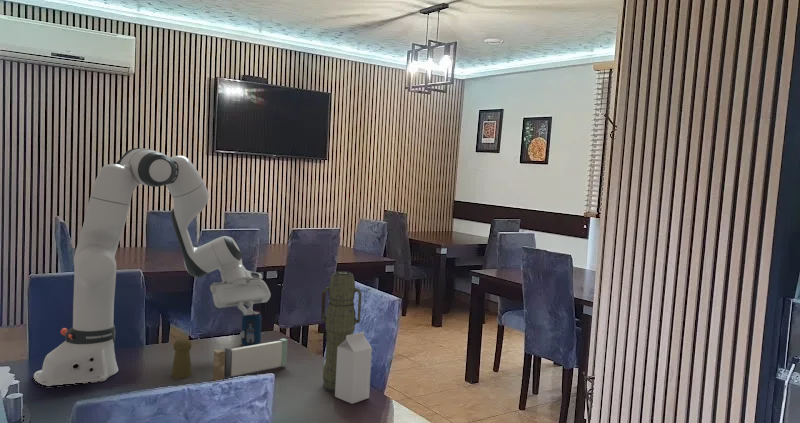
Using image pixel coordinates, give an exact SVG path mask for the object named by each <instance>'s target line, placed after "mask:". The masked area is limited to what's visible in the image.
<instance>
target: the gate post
mask: <svg viewBox="0 0 800 423" xmlns="http://www.w3.org/2000/svg"><path fill="white" fill-rule="evenodd" d="M224 367H225V349H224V350H223V349H214V350H213V370H212V380H213V381H215V382H216V380H221V379H224V380H225V377H224Z"/></svg>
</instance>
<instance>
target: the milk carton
mask: <svg viewBox="0 0 800 423" xmlns="http://www.w3.org/2000/svg"><path fill="white" fill-rule="evenodd" d="M372 352H373V348H372V346H371V344H370V343H369V341H368V340H367V338H366V336H365V331H361V332H357V333H356V332H355V333H353V334H351V335H347V336H346V340H345V341H344V342H342V343H341V344H340V345H339V346H338V347H337V365H336V385H335V391H334V397H335V398H337V399H339V400H342V401H344V402H346V403H349V404H351V405H353V404H355V403H358V402H361V401H365V400H367V399H369V398H370V388H371V370H372V369H371V367H372Z"/></svg>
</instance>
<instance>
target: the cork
mask: <svg viewBox="0 0 800 423" xmlns="http://www.w3.org/2000/svg"><path fill="white" fill-rule="evenodd" d="M192 345H193V344H192V342H191V340H190V339H186V338H180V339H176V340H175V341H174V342H173V350H174V351H175V352H174V357H173V364H172V370H171V373H170V374H171V375H170V377H172V378H174V379H187V378H190V377H192V375H193V371H192V370H193V369H192V363H191V355H190V354H191V353H190V350H191V349H192Z"/></svg>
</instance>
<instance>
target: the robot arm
mask: <svg viewBox="0 0 800 423" xmlns="http://www.w3.org/2000/svg"><path fill="white" fill-rule="evenodd" d="M139 185H143V186H149V187H152V188H153V187H154V188H157V187H158V188H159V187H163V186H166V188H167V190H168V192H169V193H170V195H171V198H172V201H173V208H172V210H170V218H171V219H170V220H171V223H172V226H173V230H174V233H175V236H176V239H177V243H178V245H179V247H180V251H181V253H182V254H181V255H182V258H183V264H184V267H185V270H186V271H187V272H188V274H189V275H190V276H191V277H193V278H194V277H195V278H203V277H205V276H206V275H208V274H211V272H214V271H216V270H218V271H219V272H220V277H221V278H220V279H221V281H220V282H212V284H210V285H209V289H210V292H211V294H212V300H213V304H214V306H215V307H216V308H218V309H222V308H229V307H230V308H231V307H237V309H238V310H239V311H241V312H242V314H244V315H252V314H253V311H254V309H253V307H254V306H253V305H254V304H262V303H263V304H265V303H267V302H268V301H269V300H270V298H271V295H272V294H271V291H270V288H269V287H268V285H267V283H266V282H265V281H264V280H263V275H262V273H259V272H256V271H255V272H254V271H251V270H248V269H246V267H245V266H244V265H243V259H242V257H243V256H242V255H243V254H242V252H241V248H240V246H239V244H238V242H237V241H236V239H235V238H233V237H231V236H229V235H228V236H227V235H223V236H220V237H217V238H215V239H212V240H211V241H208V242H206V243H205V244H203V245H202V244H201V245H199V246H197V247H196V246H194V245H193V242H192V239H191V234H190V232H189V229H188V227H189V225H190V224H191V222H192V221H193V220H194V219H195V218H196V217H197V216H198V215H199V214H200V213H202V211H203V210H204V209H205V207H206V206H207V204H208V201H209V198H210V194H209V191H208V188H207V186H206V184H205V181H204V179H203V178H202V176H201V174H200V172H199V171H198V170H197V168H196V167H195V165H194V164H193V162H192V161H191V160H190V159H189V158H188V157H186V156H185V155H174V156H171V157H169V156H168V155H167V154H165V153H162V152H159V151H157V150H153V149H151V148H143V147H133V148H131V149H129V150H127V151H125V152H124V154H122V155H121V157H120V159H118V160H117V161H116V163H110V164H106V165H103V166H102V167H101V168H100V170H99V172H98V174H97V176H96V178H95V181H94V184H93V185H92V190H91V192H90V197H89V200H88V205H87V209H86V212H85V216H84V221H83V225H82V228H81V231H80V235H79V239H78V241H77V245H76V248H75V252H74V256H73V266H74V267H73V268H74V269H73V270H74V277H73V298H72V299H73V300H72V302H73V304H72V306H73V308H72V327H70V328H69V329H68V328H66V327H63V328H61V330H60V334H61V335H62V336H64V337H65V341H63V342H62V343H61V344H59V345H58V346H57V347H55V348H54V349H53V350H51V351H50V352H49V353H47V354H46V355H45V357H44V360H43V363H42V368H41V369H40V370H37V371H36V372H35V373H33V378H34V379H35V381H37V382H38V383H40V384H42V385H46V386H52V385H63V384H74V385H76V384H75V383H83V384H89V383H88V382H91V383H99V382H105V381H107V379H109V377H112V376H113V375H116V374H117V373H118V372H119V367H118V364H117V360H116V354H115V342H116V326H115V324H114V318H115V316H114V315H115V314H114V313H115V312H114V311H115V294H116V282H117V280H116V279H117V261H116V259H115V258H116V253H117V250H118V248H119V244H120V241H121V237H122V235H123V233H124V229H125V225H126V222H127V217H128V215H129V209H130V205H131V200H132V196H133V193H134V191H135V190H136V188H137V187H138V186H139ZM246 306H247V308H246ZM34 379H33V380H34ZM35 381H34V382H35ZM98 381H99V382H98Z"/></svg>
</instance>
